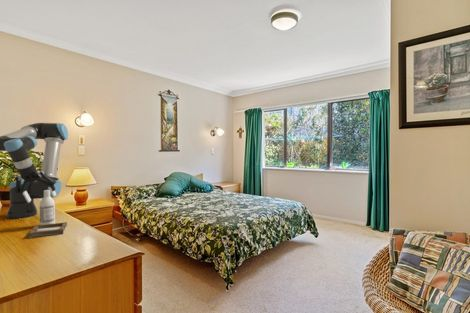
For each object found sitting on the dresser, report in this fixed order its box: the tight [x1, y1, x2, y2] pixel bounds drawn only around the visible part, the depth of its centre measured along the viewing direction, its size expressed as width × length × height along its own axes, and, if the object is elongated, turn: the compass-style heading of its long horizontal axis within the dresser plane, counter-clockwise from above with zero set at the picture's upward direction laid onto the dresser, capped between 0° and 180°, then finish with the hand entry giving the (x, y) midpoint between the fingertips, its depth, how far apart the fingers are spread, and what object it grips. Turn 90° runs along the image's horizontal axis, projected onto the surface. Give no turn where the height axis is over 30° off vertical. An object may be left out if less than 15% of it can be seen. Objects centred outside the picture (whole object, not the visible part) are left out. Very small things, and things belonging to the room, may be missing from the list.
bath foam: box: [39, 190, 56, 225], centre depth 141 cm, size 7×7×20 cm
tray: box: [28, 221, 68, 239], centre depth 131 cm, size 14×14×2 cm
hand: (42, 198), depth 146 cm, fingers open, 13 cm apart
